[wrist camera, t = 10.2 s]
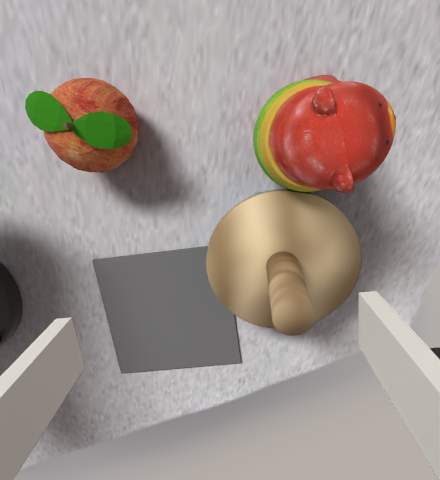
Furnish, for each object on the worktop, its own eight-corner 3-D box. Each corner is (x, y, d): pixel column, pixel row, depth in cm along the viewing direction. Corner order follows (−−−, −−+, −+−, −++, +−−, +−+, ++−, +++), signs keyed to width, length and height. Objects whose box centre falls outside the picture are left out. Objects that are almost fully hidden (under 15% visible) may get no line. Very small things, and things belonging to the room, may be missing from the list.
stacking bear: (353, 177, 38) (445, 210, 21) (261, 196, 39) (278, 242, 22) (341, 70, 35) (436, 9, 18) (242, 95, 36) (243, 58, 19)
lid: (216, 327, 39) (208, 394, 30) (196, 197, 33) (180, 236, 24) (356, 319, 37) (389, 388, 29) (362, 181, 31) (406, 216, 23)
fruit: (133, 182, 40) (99, 197, 30) (54, 144, 39) (-7, 147, 29) (163, 109, 37) (136, 99, 28) (79, 67, 36) (22, 42, 27)
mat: (121, 371, 47) (121, 373, 46) (93, 259, 42) (92, 260, 42) (241, 361, 45) (240, 362, 45) (224, 244, 41) (224, 244, 41)
